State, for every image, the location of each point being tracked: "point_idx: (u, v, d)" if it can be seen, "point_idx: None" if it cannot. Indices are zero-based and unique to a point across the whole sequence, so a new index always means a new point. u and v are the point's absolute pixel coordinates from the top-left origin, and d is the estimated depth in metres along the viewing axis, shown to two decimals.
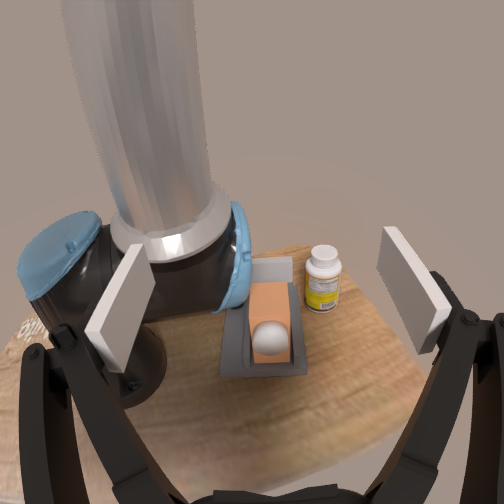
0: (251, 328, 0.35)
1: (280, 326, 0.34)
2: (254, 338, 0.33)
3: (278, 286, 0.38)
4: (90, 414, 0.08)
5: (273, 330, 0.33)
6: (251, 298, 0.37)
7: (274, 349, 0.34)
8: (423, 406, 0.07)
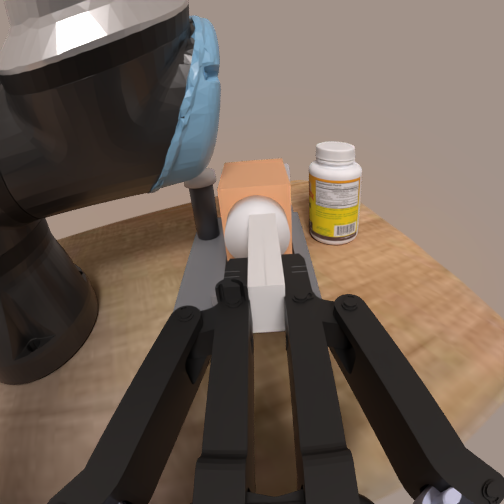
0: (223, 215, 0.20)
1: (274, 203, 0.19)
2: (227, 224, 0.19)
3: (268, 162, 0.23)
4: (220, 379, 0.09)
5: (261, 205, 0.18)
6: (224, 173, 0.22)
7: None
8: (296, 400, 0.08)
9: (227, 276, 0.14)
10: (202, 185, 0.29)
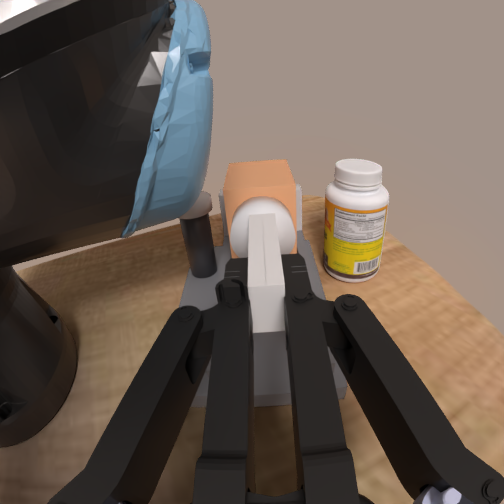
0: (228, 216, 0.20)
1: (279, 204, 0.19)
2: (232, 225, 0.19)
3: (273, 163, 0.23)
4: (220, 379, 0.09)
5: (266, 206, 0.18)
6: (229, 174, 0.22)
7: None
8: (296, 400, 0.08)
9: (227, 276, 0.14)
10: (195, 215, 0.23)
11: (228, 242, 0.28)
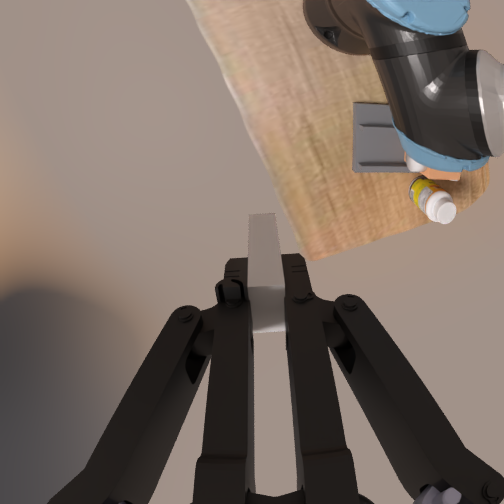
0: None
1: (423, 169, 0.39)
2: None
3: (456, 172, 0.37)
4: (220, 379, 0.09)
5: (419, 164, 0.38)
6: None
7: (408, 159, 0.40)
8: (296, 400, 0.08)
9: (227, 276, 0.14)
10: None
11: None
